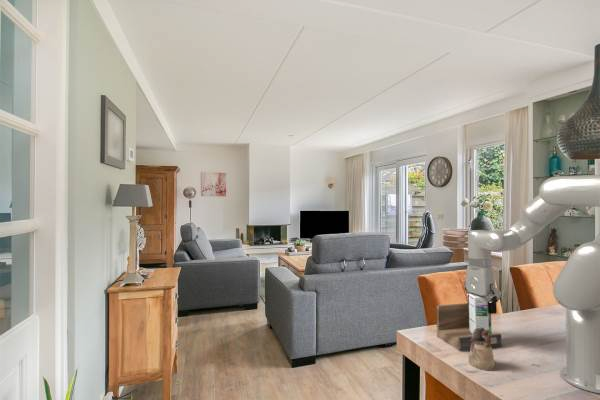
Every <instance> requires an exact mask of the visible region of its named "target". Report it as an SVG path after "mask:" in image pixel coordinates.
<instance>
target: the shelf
mask: <svg viewBox="0 0 600 400" xmlns="http://www.w3.org/2000/svg"><path fill="white" fill-rule="evenodd" d="M471 335H472V333H471V332H470V325H469V306H468V302H466V303H453V304H442V305H441V304H439V305H436V337H437V338H438V339H440V340H442V341H443V342H445V343H447V344H448V345H450V346H452V347H453V348H454V349H456V350H458V351H459V352H466V351H467V352H469V351H470V347H471V344H472V343H471V342H470V340H471V339H472V336H471ZM489 337H490V339H491V344H490V345H491V348H492V349H494V348H502V334H501V333H492V334H489ZM485 340H486V339H485ZM486 341H487V340H486Z"/></svg>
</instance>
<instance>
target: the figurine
mask: <svg viewBox="0 0 600 400" xmlns="http://www.w3.org/2000/svg"><path fill="white" fill-rule="evenodd" d="M488 334H489V330H484V328H483V327H478V328H476V329H474V331H473V334H472V335H471V336H472V339H471V340H470V342H471V343H472V344H471V347H470V350H469V355H468V363H469V365H470V366H471V367H473V368H475V369H479V370H483V371H491V370H494V369H495V363H496V362H495V358H494V352H493V348H491V345H490V344H491V339H490V337H489V335H488ZM485 339H486V340H487V341H486V340H485Z"/></svg>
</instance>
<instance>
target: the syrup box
mask: <svg viewBox="0 0 600 400" xmlns="http://www.w3.org/2000/svg"><path fill="white" fill-rule="evenodd" d="M488 302H489V301H488V299H487V297H486V296H481V295H478V294H469V325H470V332H471V333H472V334H473V331H474V329H476V328H478V327H483V328H484V330H489V334H493V333H492V314H489V313H488V306H487V303H488ZM489 334H488V335H489Z"/></svg>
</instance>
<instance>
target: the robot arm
mask: <svg viewBox="0 0 600 400" xmlns="http://www.w3.org/2000/svg"><path fill="white" fill-rule="evenodd" d="M573 207H595V208H596V207H597V208H598V207H600V174H590V175H589V174H588V175H587V174H586V175H557V176H552V177H549V178H547V179H545V180H544V181H543V182H542V183H541V184H540V186H539V189H538V195H536V196H535V197H534V198H533V199H531V200H530V201H528V202H527V203H526V204H524V205H523V207H522V215H521V217H520V218H519V219H518V220H517V221H515V223H513V224H512V225H510V226H509V227H508V228H506V229H499V230H489V231H488V230H485V229H476V230H475V229H473V230H472V229H471V230H468V232H467V252H468V253H467V256H468V258H467V259H468V265H467V268H466V272H465V273H466V275H465V280H464V281H463V282H462V283H463V286H464V291H465V292H466V295H467V303H468V306H469V294H478V295H481V296H486V297H487V299H488V301H489V302H488V303H487V306H488V313H489V314H491V315H492V314H495V315H496V314H497V312H498V311H497V303H498V302H499V300H500V299H501V296H502V291H500V290H499V289H498V288H497V287H496V278H495V274H494V270H493V267H492V265H493V263H492V252H493V253H502V252H508V251H513V250H517V249H520V248H521V247H523V245H525V244H527V243H528V242H529V241H531V240H533V239H534V238H535V237H536V236H538V234H540V233H541V231H543V230H544V229H545V227H546V226H547V225H549V224H550V223H552V222H553V221H555V220H556V219H557V218H559V217H560V216H562V215H564V214H565V213H566V212H568V211H569V210H571V209H573ZM552 294H553V297H554V299H555V300H556V302H557V303H558V304H559V305H560V306H562V307H563V308H566V311H565V334H566V336H565V340H566V341H565V342H566V345H565V346H566V349H565V350H566V367H563V368H561V369H560V371H559V374H560V377H561V378H562V379H563V380H564V381H565V382H567V383H568V384H571V385H572V386H574V387H577V388H579V389H582V390H585V391H588V392H591V393H595V394H600V231H599V233H597V235H596V236H595V238H594V239H593V240H592V241H589V242H585V243H581V244H580V245H579V246H577V247H576V248H575V249H574V250H573V251H572V253H571V254H570V255H569V257H568V259H567V260H566V262H565V264H564V265H563V267H562V269H561V270H560V272H559V273H558V275H557V277H556V279H555V281H554V283H553V284H552Z"/></svg>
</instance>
